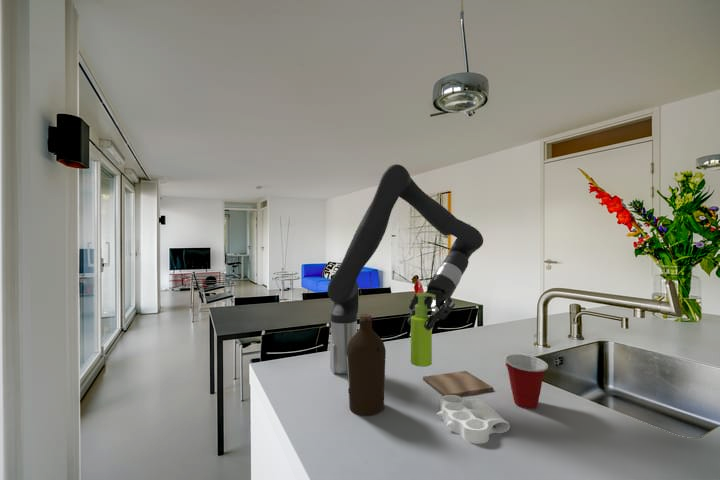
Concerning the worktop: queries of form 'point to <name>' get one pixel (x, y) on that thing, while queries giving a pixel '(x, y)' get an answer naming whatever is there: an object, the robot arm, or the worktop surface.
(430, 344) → the soap dispenser
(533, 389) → the plastic cup
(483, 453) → the worktop surface
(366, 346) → the olive oil
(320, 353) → the worktop surface
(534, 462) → the worktop surface
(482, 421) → the white flat holed block
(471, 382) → the soap board
